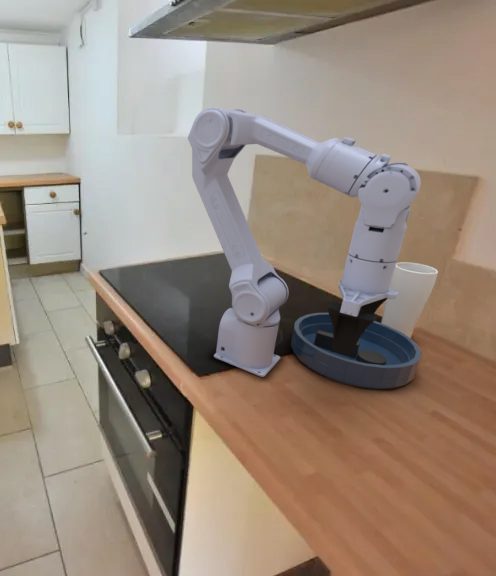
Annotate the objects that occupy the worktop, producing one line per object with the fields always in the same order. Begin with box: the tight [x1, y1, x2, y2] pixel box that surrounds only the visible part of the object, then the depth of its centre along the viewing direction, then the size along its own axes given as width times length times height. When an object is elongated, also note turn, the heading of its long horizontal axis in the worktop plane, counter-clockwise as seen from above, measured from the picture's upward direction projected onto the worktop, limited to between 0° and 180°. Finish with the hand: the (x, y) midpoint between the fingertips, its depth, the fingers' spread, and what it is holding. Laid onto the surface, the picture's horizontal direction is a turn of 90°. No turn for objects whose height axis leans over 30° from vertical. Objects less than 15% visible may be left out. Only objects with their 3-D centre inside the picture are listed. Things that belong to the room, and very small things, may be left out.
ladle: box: [314, 330, 387, 365], centre depth 70 cm, size 12×4×3 cm, turn 48°
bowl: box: [290, 312, 423, 390], centre depth 69 cm, size 20×20×4 cm
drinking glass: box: [380, 261, 439, 339], centre depth 75 cm, size 7×7×15 cm
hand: (348, 342), depth 57 cm, fingers open, 7 cm apart
